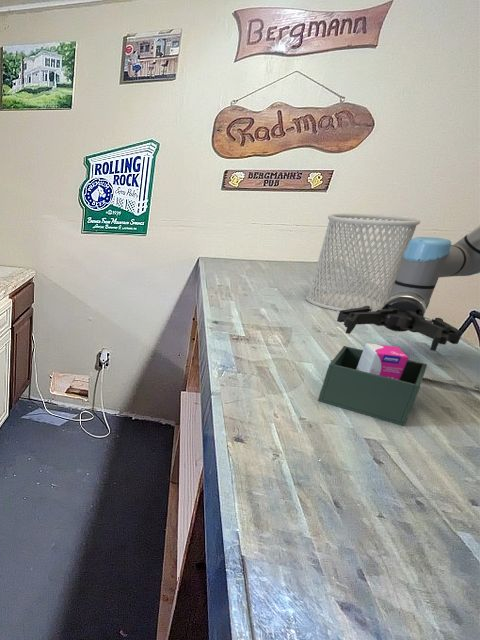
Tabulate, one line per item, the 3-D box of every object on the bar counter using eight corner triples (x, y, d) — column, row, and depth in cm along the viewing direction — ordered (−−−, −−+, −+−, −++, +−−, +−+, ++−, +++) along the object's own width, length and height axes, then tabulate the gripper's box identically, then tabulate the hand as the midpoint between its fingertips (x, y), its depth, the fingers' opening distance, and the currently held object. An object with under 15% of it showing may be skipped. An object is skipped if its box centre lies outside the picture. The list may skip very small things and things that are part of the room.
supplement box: (356, 402, 96) (374, 352, 91) (347, 390, 101) (364, 342, 96) (390, 407, 94) (410, 356, 89) (379, 394, 99) (397, 345, 94)
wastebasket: (318, 291, 180) (341, 211, 168) (397, 305, 163) (428, 217, 151) (295, 302, 165) (318, 216, 153) (378, 319, 148) (411, 223, 136)
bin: (412, 400, 98) (427, 364, 94) (403, 426, 88) (420, 386, 85) (332, 379, 107) (343, 345, 104) (317, 400, 98) (329, 364, 94)
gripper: (470, 341, 99) (468, 370, 85) (333, 316, 115) (313, 337, 101) (484, 307, 96) (485, 332, 82) (342, 286, 112) (322, 304, 98)
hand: (390, 335), depth 91 cm, fingers open, 13 cm apart
